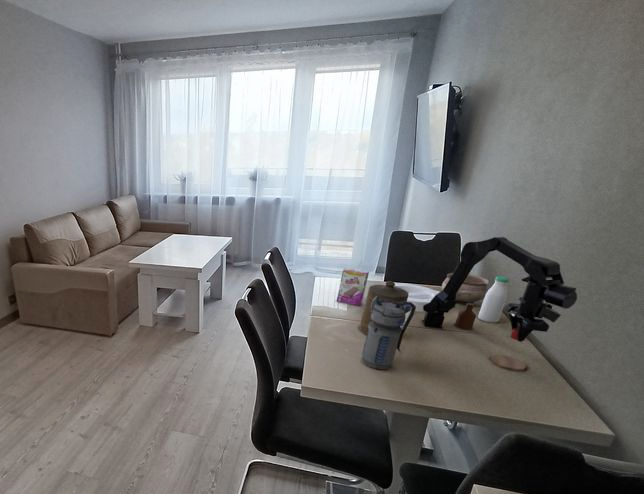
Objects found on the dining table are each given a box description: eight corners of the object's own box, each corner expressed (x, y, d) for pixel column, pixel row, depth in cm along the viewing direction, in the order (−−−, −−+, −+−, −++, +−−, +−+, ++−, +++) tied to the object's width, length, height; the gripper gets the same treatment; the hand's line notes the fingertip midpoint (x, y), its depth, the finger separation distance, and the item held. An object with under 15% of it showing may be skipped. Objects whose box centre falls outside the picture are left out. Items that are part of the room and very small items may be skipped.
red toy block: (508, 337, 146) (511, 329, 145) (512, 334, 148) (515, 327, 147) (522, 341, 143) (525, 333, 142) (526, 339, 145) (529, 331, 144)
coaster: (496, 367, 146) (497, 366, 146) (487, 355, 155) (487, 353, 155) (530, 373, 144) (531, 371, 143) (518, 359, 152) (519, 357, 152)
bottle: (456, 328, 177) (464, 305, 173) (452, 322, 183) (459, 300, 178) (473, 330, 175) (481, 307, 171) (469, 324, 181) (476, 302, 177)
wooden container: (402, 331, 173) (416, 281, 164) (391, 342, 163) (404, 290, 154) (367, 321, 182) (377, 273, 173) (353, 331, 172) (364, 281, 163)
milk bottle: (501, 324, 183) (517, 281, 174) (482, 322, 184) (497, 279, 176) (493, 317, 189) (508, 275, 181) (474, 315, 191) (488, 274, 183)
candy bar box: (336, 301, 203) (342, 269, 196) (338, 298, 207) (344, 267, 200) (360, 306, 198) (367, 274, 191) (362, 303, 201) (369, 271, 195)
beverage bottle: (401, 374, 141) (420, 306, 131) (359, 367, 145) (374, 300, 134) (397, 360, 149) (414, 296, 139) (358, 354, 153) (372, 291, 143)
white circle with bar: (440, 298, 211) (443, 289, 209) (441, 316, 189) (444, 306, 187) (381, 288, 224) (383, 279, 222) (375, 303, 202) (377, 294, 200)
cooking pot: (438, 290, 222) (445, 268, 217) (480, 297, 213) (488, 275, 208) (438, 305, 202) (445, 281, 197) (484, 313, 193) (492, 289, 188)
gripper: (577, 310, 129) (557, 354, 135) (549, 291, 145) (532, 331, 151) (535, 305, 132) (517, 349, 138) (512, 287, 148) (497, 327, 155)
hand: (517, 338), depth 146 cm, fingers closed on red toy block, 4 cm apart
